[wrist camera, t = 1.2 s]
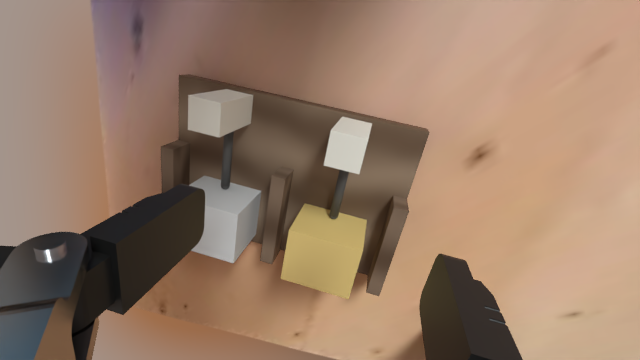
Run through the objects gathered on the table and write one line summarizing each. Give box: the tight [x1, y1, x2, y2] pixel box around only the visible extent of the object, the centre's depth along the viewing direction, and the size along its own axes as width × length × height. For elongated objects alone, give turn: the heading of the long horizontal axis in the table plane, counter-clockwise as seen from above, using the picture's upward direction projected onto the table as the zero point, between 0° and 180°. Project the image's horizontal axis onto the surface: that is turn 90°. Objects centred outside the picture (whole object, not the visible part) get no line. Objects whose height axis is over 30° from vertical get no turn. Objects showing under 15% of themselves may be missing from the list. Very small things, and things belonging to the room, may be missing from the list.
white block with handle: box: [188, 89, 261, 263], centre depth 26 cm, size 14×6×6 cm, turn 169°
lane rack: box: [161, 75, 429, 296], centre depth 28 cm, size 15×22×4 cm
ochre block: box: [281, 117, 372, 299], centre depth 25 cm, size 14×6×6 cm, turn 169°
